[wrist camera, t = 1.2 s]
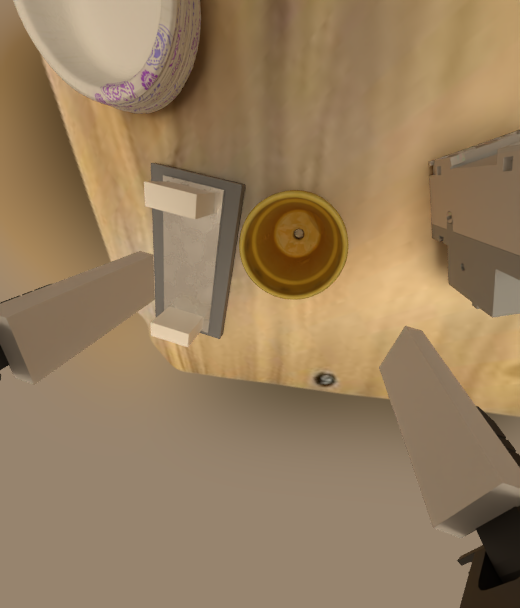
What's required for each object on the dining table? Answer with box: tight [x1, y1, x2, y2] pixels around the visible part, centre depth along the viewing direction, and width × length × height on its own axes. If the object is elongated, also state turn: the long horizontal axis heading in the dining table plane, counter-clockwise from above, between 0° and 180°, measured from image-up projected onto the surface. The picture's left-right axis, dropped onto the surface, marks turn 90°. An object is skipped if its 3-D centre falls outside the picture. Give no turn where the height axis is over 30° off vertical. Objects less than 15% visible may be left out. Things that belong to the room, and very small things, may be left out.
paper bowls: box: [13, 0, 201, 114], centre depth 21 cm, size 15×15×8 cm
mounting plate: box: [151, 163, 245, 339], centre depth 35 cm, size 24×12×2 cm, turn 168°
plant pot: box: [239, 190, 348, 299], centre depth 26 cm, size 10×10×10 cm
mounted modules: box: [144, 181, 215, 347], centre depth 31 cm, size 21×6×5 cm, turn 168°
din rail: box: [163, 175, 225, 333], centre depth 34 cm, size 22×8×1 cm, turn 168°
